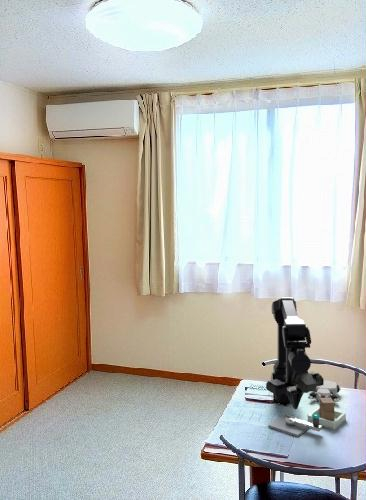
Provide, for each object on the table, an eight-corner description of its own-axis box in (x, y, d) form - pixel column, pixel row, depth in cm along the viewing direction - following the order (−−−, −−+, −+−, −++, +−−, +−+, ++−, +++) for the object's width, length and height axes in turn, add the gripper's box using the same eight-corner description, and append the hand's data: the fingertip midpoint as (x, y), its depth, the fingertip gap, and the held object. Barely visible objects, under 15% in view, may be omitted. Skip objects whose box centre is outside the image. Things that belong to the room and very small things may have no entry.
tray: (307, 422, 161) (307, 415, 160) (319, 412, 168) (319, 405, 168) (334, 430, 154) (334, 423, 154) (345, 419, 162) (345, 413, 161)
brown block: (319, 417, 163) (319, 397, 163) (330, 416, 163) (330, 397, 162) (322, 422, 159) (322, 402, 159) (334, 422, 159) (334, 402, 158)
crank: (283, 423, 158) (283, 408, 157) (288, 419, 161) (288, 405, 160) (317, 434, 150) (317, 418, 150) (322, 429, 153) (322, 414, 152)
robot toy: (340, 409, 173) (340, 390, 187) (340, 397, 172) (340, 380, 186) (306, 405, 177) (309, 387, 191) (306, 394, 176) (309, 377, 190)
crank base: (268, 427, 158) (268, 424, 158) (284, 415, 166) (284, 413, 166) (297, 437, 150) (297, 434, 150) (313, 424, 159) (313, 422, 159)
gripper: (286, 374, 136) (286, 425, 138) (335, 364, 144) (335, 412, 145) (265, 363, 146) (265, 410, 148) (312, 354, 154) (312, 399, 155)
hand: (295, 408), depth 149 cm, fingers closed
